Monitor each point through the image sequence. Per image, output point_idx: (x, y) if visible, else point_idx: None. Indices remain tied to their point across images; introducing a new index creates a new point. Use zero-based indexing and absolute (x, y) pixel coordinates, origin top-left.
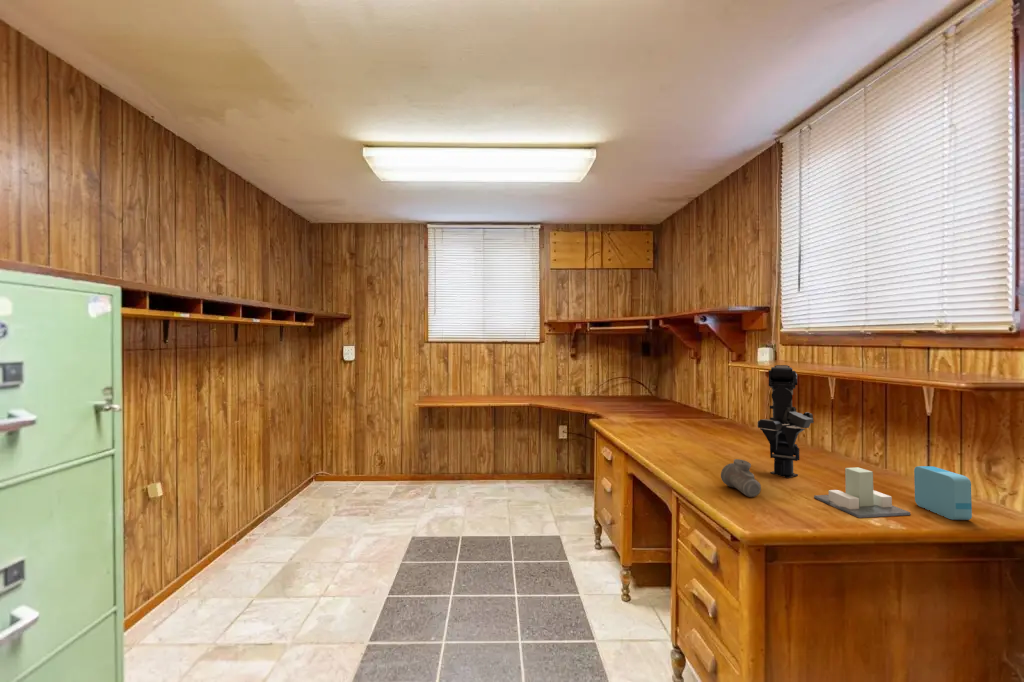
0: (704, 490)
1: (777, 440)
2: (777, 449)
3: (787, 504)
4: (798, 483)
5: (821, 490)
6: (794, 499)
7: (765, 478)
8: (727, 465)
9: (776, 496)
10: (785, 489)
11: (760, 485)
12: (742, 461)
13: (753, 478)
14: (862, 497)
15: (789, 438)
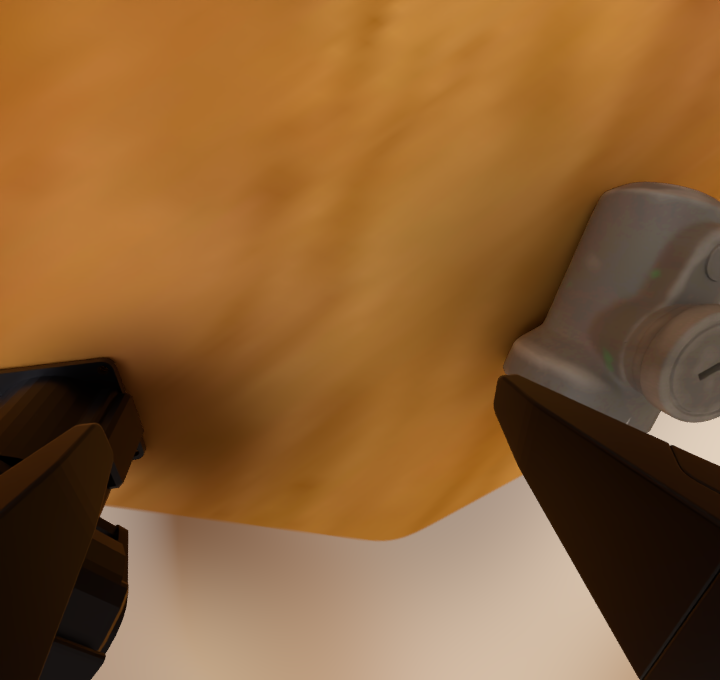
0: None
1: (630, 454)
2: (94, 560)
3: (594, 13)
4: (124, 262)
5: (79, 71)
6: (468, 51)
7: (257, 396)
8: (653, 423)
9: (505, 150)
10: (332, 214)
11: (648, 189)
12: (699, 380)
13: (709, 223)
14: None
15: (18, 616)
